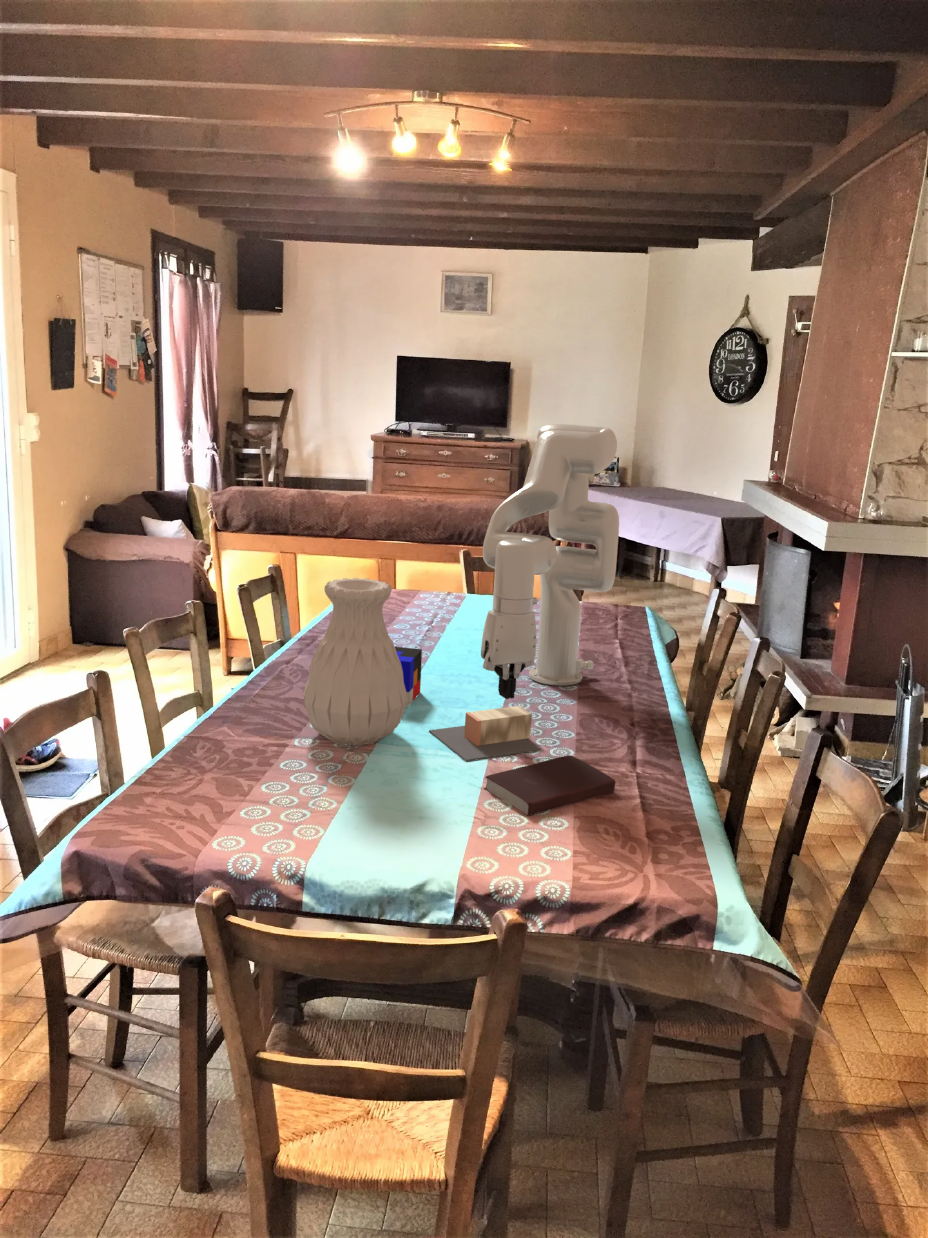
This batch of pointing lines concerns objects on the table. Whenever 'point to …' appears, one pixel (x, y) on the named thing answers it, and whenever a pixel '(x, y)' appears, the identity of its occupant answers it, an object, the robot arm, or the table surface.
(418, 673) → the puzzle toy
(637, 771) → the table surface
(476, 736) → the tall block
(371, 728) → the vase
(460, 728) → the mat
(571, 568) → the robot arm
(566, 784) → the book
